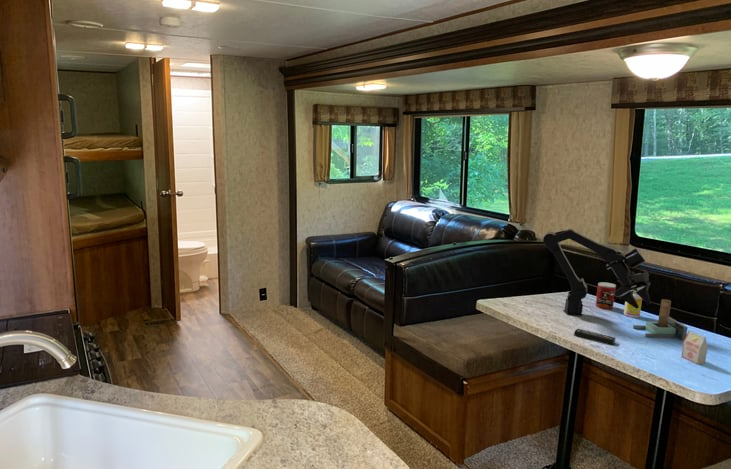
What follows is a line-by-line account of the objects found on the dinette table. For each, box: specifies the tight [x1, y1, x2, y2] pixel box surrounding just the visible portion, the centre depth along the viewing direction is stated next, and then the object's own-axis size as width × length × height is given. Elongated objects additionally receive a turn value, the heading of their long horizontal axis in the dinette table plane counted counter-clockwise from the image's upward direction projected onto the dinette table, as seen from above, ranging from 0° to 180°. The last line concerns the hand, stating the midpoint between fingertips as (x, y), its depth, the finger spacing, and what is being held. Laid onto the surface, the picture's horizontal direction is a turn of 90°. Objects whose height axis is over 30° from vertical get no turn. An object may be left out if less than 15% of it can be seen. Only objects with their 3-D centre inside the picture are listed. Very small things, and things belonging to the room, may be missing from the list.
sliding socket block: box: [644, 321, 676, 334], centre depth 226 cm, size 8×8×4 cm
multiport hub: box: [573, 328, 616, 346], centre depth 217 cm, size 4×14×2 cm, turn 53°
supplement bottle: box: [623, 290, 643, 319], centre depth 248 cm, size 7×7×13 cm
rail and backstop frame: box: [632, 316, 688, 342], centre depth 226 cm, size 14×16×6 cm
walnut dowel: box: [657, 298, 672, 327], centre depth 225 cm, size 4×4×13 cm
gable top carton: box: [680, 330, 708, 365], centre depth 199 cm, size 4×7×10 cm, turn 17°
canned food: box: [595, 281, 617, 310], centre depth 260 cm, size 8×8×11 cm
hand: (643, 305), depth 231 cm, fingers open, 9 cm apart
